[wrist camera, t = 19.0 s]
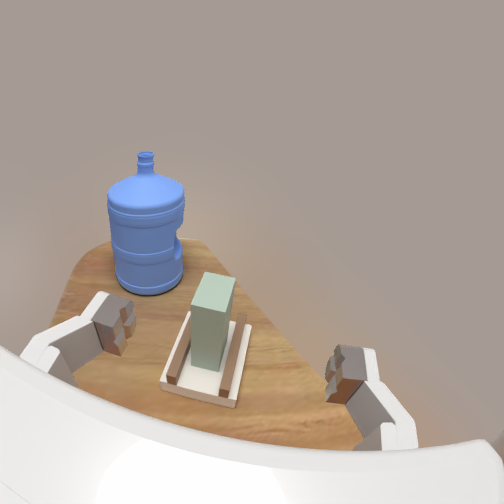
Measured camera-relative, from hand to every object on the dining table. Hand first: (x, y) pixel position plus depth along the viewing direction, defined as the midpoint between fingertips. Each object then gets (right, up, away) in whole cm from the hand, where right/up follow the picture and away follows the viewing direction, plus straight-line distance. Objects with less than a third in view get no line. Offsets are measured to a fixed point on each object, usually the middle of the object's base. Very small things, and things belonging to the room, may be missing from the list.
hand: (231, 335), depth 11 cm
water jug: (-23, -2, +55) cm, 59 cm away
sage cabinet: (-6, -13, +36) cm, 39 cm away
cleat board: (-7, -16, +38) cm, 42 cm away
